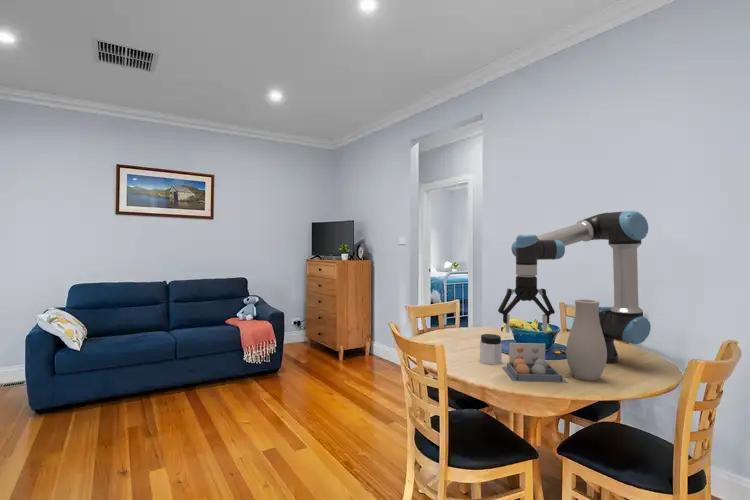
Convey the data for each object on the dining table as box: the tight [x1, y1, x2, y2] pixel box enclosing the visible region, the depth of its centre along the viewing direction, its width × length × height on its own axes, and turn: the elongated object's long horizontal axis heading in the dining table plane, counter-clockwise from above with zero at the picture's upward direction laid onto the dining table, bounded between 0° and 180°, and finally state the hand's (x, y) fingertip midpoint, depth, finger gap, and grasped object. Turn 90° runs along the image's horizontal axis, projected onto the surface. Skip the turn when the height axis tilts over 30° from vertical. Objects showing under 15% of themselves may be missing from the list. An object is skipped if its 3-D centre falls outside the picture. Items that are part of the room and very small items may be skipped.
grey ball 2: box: [532, 364, 546, 375], centre depth 156 cm, size 5×5×5 cm
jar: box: [479, 333, 503, 366], centre depth 176 cm, size 9×8×12 cm
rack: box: [501, 342, 569, 384], centre depth 160 cm, size 20×17×11 cm
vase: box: [565, 298, 607, 382], centre depth 157 cm, size 14×14×30 cm
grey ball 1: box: [534, 359, 549, 369], centre depth 163 cm, size 5×5×5 cm
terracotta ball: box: [513, 358, 527, 368], centre depth 164 cm, size 5×5×5 cm
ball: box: [516, 364, 530, 374], centre depth 157 cm, size 5×5×5 cm
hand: (525, 332), depth 156 cm, fingers open, 13 cm apart
